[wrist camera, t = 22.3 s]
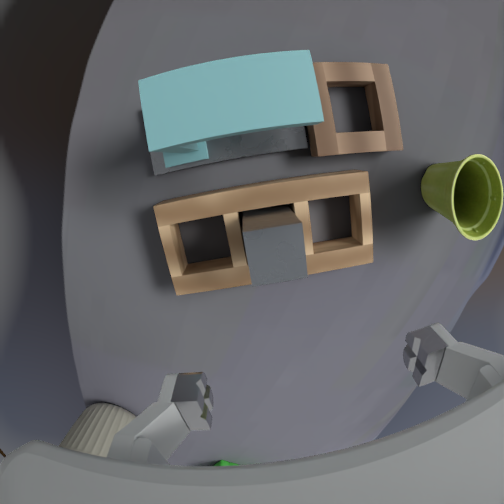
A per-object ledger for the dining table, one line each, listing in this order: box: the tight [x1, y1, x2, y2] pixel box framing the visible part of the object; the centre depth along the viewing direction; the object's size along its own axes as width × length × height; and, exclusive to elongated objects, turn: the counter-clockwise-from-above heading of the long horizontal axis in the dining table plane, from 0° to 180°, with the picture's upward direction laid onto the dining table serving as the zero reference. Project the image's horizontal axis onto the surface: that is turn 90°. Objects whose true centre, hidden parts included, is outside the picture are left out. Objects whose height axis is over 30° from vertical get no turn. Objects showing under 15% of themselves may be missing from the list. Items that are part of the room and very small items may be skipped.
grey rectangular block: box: [242, 204, 308, 287], centre depth 27 cm, size 5×5×10 cm
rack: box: [153, 170, 373, 295], centre depth 30 cm, size 10×22×4 cm, turn 99°
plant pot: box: [421, 154, 503, 240], centre depth 26 cm, size 9×9×9 cm
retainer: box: [138, 50, 324, 168], centre depth 21 cm, size 13×7×12 cm, turn 99°
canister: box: [59, 403, 136, 457], centre depth 33 cm, size 18×18×21 cm
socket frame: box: [150, 62, 403, 176], centre depth 26 cm, size 27×10×3 cm, turn 99°
